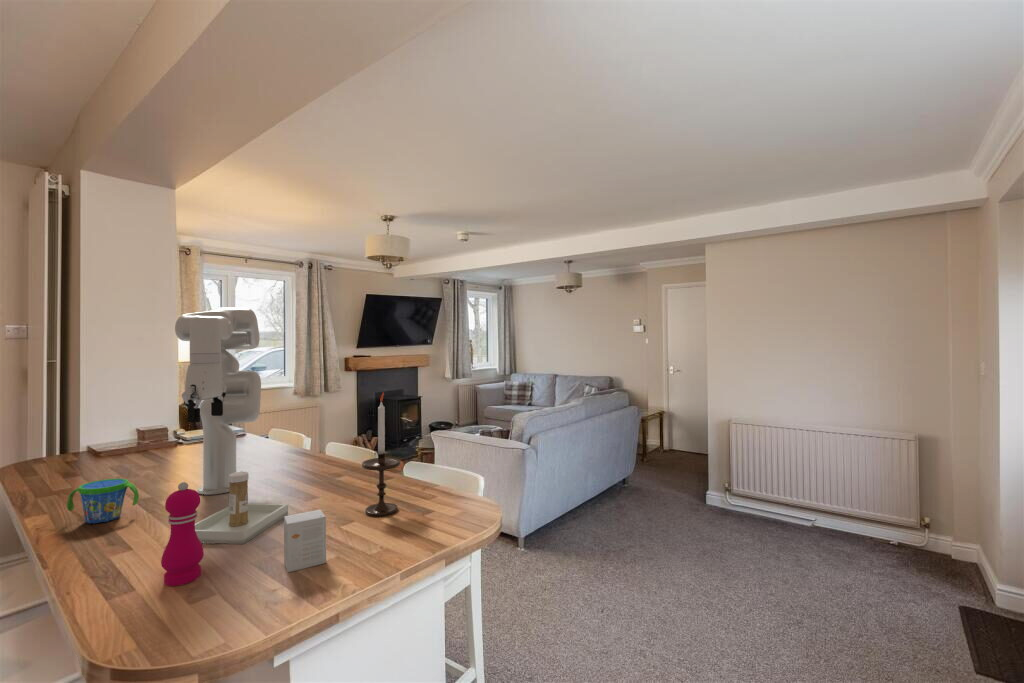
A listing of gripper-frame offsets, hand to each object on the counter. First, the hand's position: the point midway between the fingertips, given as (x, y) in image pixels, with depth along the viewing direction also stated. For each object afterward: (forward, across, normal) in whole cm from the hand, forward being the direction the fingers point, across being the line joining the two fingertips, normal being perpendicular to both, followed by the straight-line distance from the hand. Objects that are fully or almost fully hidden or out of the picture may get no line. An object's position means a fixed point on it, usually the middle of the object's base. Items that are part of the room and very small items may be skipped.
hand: (205, 418), depth 134 cm
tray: (+27, +10, +16) cm, 33 cm away
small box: (+26, +30, +43) cm, 59 cm away
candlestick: (+27, -3, +50) cm, 57 cm away
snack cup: (+28, +5, -26) cm, 39 cm away
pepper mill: (+26, +37, +21) cm, 50 cm away
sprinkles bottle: (+26, +10, +16) cm, 32 cm away
